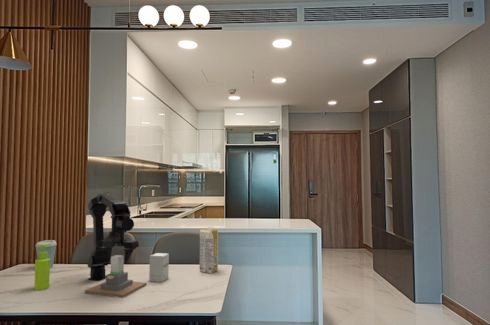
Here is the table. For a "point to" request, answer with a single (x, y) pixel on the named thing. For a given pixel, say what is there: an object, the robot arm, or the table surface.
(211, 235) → the juice carton
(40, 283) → the soap dispenser
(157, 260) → the supplement box
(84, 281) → the table surface
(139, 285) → the tan base plate
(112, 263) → the block
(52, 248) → the disposable coffee cup
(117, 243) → the robot arm
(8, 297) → the table surface
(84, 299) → the table surface
